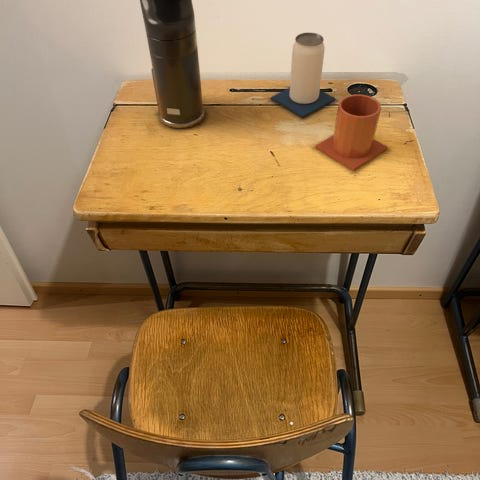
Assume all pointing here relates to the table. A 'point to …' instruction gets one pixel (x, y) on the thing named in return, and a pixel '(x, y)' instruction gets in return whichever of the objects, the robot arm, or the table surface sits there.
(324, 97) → the blue mat
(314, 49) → the can
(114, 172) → the table surface
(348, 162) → the terracotta mat
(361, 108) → the terracotta cup
